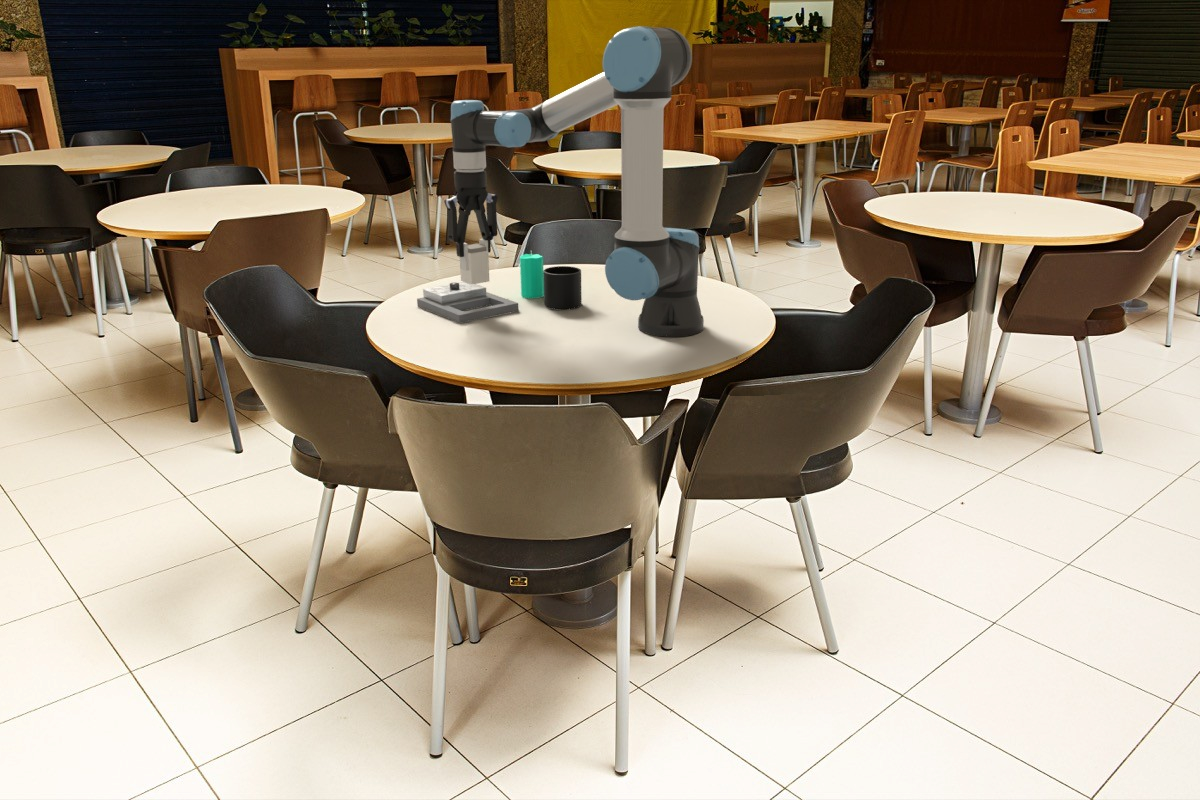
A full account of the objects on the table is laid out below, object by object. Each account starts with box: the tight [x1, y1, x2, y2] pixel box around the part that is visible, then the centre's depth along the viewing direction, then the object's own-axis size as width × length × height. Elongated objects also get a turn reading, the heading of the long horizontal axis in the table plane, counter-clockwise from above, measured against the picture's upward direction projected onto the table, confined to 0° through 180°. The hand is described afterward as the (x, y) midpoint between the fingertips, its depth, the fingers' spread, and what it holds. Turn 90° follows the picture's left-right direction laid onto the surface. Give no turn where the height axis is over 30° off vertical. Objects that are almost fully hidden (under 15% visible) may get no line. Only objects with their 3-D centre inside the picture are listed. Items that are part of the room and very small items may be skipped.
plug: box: [459, 243, 490, 285], centre depth 224 cm, size 5×5×8 cm
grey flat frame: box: [416, 291, 520, 324], centre depth 231 cm, size 20×17×2 cm
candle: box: [519, 250, 544, 299], centre depth 241 cm, size 6×6×12 cm
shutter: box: [422, 281, 487, 304], centre depth 234 cm, size 9×13×3 cm
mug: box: [543, 265, 583, 311], centre depth 234 cm, size 9×12×9 cm
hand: (474, 267), depth 224 cm, fingers closed on plug, 5 cm apart
